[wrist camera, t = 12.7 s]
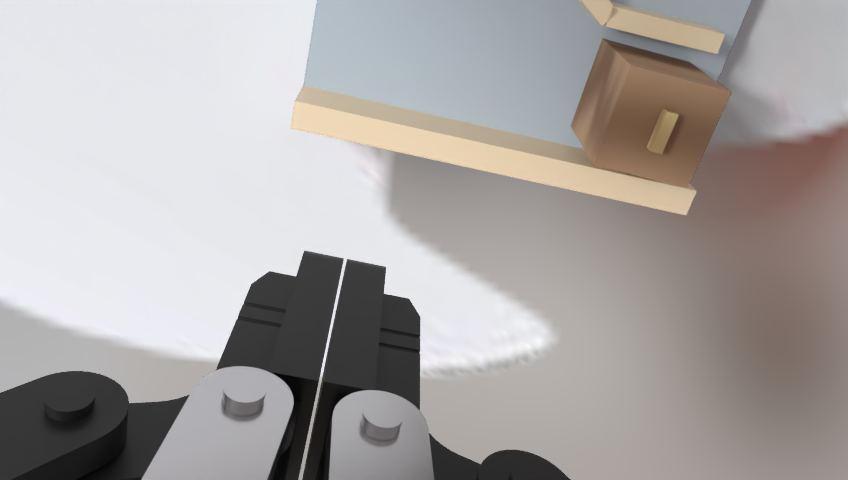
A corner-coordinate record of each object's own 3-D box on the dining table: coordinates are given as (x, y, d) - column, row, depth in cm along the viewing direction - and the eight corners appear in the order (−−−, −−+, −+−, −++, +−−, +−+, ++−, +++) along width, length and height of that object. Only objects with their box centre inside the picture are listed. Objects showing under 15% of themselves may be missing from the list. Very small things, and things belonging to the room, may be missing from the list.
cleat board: (339, -124, 36) (329, -124, 32) (748, -18, 38) (783, -6, 34) (302, 105, 41) (290, 128, 37) (663, 185, 44) (686, 215, 40)
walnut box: (602, 38, 38) (634, 68, 32) (689, 61, 39) (736, 95, 33) (570, 125, 41) (595, 169, 35) (653, 146, 41) (691, 192, 35)
